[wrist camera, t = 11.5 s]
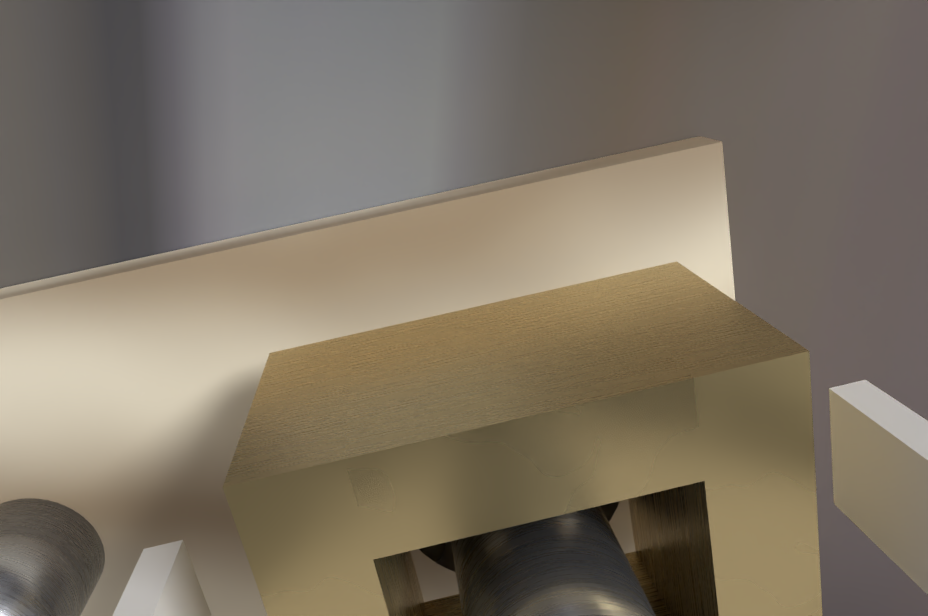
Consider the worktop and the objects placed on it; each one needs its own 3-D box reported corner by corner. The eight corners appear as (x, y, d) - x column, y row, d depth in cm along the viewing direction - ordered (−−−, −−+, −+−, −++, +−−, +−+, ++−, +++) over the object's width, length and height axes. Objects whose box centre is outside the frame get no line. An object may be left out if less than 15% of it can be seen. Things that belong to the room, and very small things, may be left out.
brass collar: (269, 352, 15) (222, 487, 10) (676, 261, 16) (809, 351, 11) (368, 677, 18) (366, 899, 13) (712, 592, 18) (830, 779, 14)
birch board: (-182, 328, 17) (-222, 348, 16) (699, 136, 18) (722, 142, 16) (27, 735, 21) (7, 775, 19) (739, 562, 21) (759, 590, 20)
